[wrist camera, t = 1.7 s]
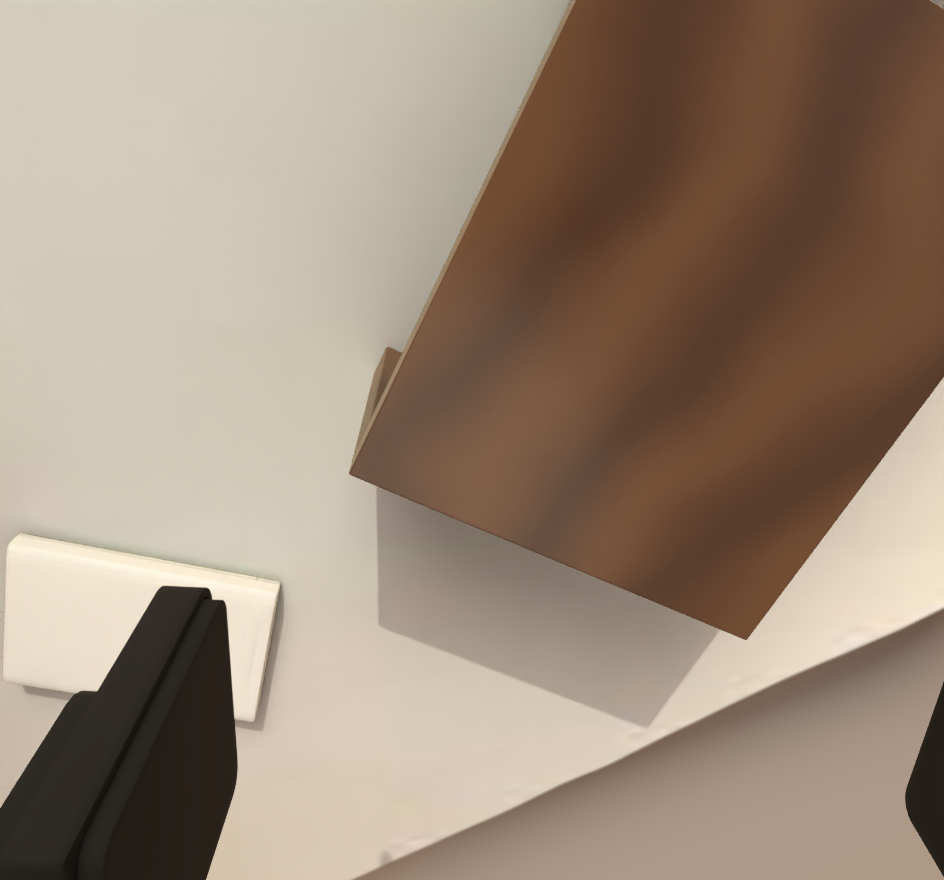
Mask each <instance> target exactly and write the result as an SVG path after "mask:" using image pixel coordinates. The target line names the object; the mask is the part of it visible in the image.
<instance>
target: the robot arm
mask: <svg viewBox="0 0 944 880" xmlns="http://www.w3.org/2000/svg"><path fill="white" fill-rule="evenodd" d="M237 768H238V766H237V748H236V734H235V720H234V705H233V691H232V677H231V663H230V649H229V634H228V620H227V608H226V604H225V601H223V600H212V594H211V592H210V590H209V589H208V588H205V587H183V586H162V587H160V588H159V589H158V591H157V592H156V594H155V595H154V597H153V599H152V600H151V602H150V604H149V605H148V607H147V609H146V610H145V612H144V614H143V615H142V617H141V619H140V621H139V622H138V624H137V626H136V627H135V629H134V631H133V632H132V634H131V636H130V637H129V639H128V641H127V642H126V644H125V646H124V647H123V649H122V651H121V652H120V654H119V656H118V657H117V659H116V661H115V662H114V664H113V666H112V667H111V669H110V671H109V672H108V674H107V676H106V677H105V679H104V681H103V683H102V684H101V686H100V688H99V689H98V691H80V692H78V693H76V694H74V695H73V697H72V698H71V699H70V700H69V702H68V703H67V704H66V705H65V707H64V709H63V710H62V712H61V713H60V715H59V717H58V718H57V720H56V721H55V723H54V724H53V726H52V728H51V729H50V731H49V732H48V734H47V735H46V737H45V739H44V740H43V742H42V743H41V745H40V747H39V748H38V750H37V751H36V753H35V754H34V756H33V758H32V759H31V761H30V762H29V764H28V765H27V767H26V769H25V770H24V772H23V773H22V775H21V777H20V778H19V780H18V781H17V783H16V784H15V786H14V788H13V789H12V791H11V792H10V794H9V795H8V797H7V799H6V800H5V802H4V803H3V805H2V807H1V808H0V880H206V878H207V875H208V872H209V868H210V865H211V862H212V859H213V856H214V853H215V850H216V847H217V844H218V841H219V838H220V834H221V831H222V828H223V825H224V822H225V819H226V816H227V813H228V810H229V807H230V804H231V800H232V797H233V794H234V790H235V785H236V779H237ZM905 802H906V809H907V812H908V816H909V818H910V820H911V822H912V824H913V825H914V827H915V829H916V831H917V832H918V834H919V836H920V837H921V839H922V841H923V842H924V844H925V846H926V847H927V849H928V851H929V853H930V854H931V856H932V858H933V859H934V861H935V863H936V864H937V866H938V868H939V869H940V871H941V873H942V875H943V876H944V683H943V686H942V689H941V691H940V694H939V697H938V700H937V703H936V706H935V708H934V711H933V714H932V717H931V720H930V723H929V726H928V728H927V731H926V734H925V737H924V740H923V743H922V746H921V748H920V751H919V754H918V757H917V760H916V763H915V766H914V768H913V771H912V774H911V777H910V780H909V783H908V786H907V789H906V795H905Z"/></svg>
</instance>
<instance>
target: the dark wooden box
mask: <svg viewBox="0 0 944 880" xmlns="http://www.w3.org/2000/svg"><path fill="white" fill-rule="evenodd" d="M943 377H944V9H942V8H940V7H939V6H937V5H936V4H934V3H933V2H931V1H929V0H571V1H570V3H569V5H568V7H567V9H566V11H565V13H564V15H563V17H562V20H561V22H560V24H559V26H558V28H557V30H556V32H555V34H554V36H553V38H552V41H551V43H550V45H549V47H548V49H547V51H546V53H545V55H544V57H543V59H542V61H541V64H540V66H539V68H538V70H537V72H536V74H535V76H534V78H533V80H532V82H531V85H530V87H529V89H528V91H527V93H526V95H525V97H524V99H523V101H522V103H521V105H520V108H519V110H518V112H517V114H516V116H515V118H514V120H513V122H512V124H511V126H510V129H509V131H508V133H507V135H506V137H505V139H504V141H503V143H502V145H501V147H500V149H499V152H498V154H497V156H496V158H495V160H494V162H493V164H492V166H491V168H490V170H489V173H488V175H487V177H486V179H485V181H484V183H483V185H482V187H481V189H480V191H479V193H478V196H477V198H476V200H475V202H474V204H473V206H472V208H471V210H470V212H469V214H468V217H467V219H466V221H465V223H464V225H463V227H462V229H461V231H460V233H459V235H458V237H457V240H456V242H455V244H454V246H453V248H452V250H451V252H450V254H449V256H448V258H447V261H446V263H445V265H444V267H443V269H442V271H441V273H440V275H439V277H438V279H437V281H436V284H435V286H434V288H433V290H432V292H431V294H430V296H429V298H428V300H427V302H426V305H425V307H424V309H423V311H422V313H421V315H420V317H419V319H418V321H417V323H416V325H415V328H414V330H413V332H412V334H411V336H410V338H409V340H408V342H407V344H406V346H405V349H404V351H403V353H401V352H398V351H396V350H394V349H392V348H390V347H387V348H386V350H385V352H384V354H383V356H382V358H381V360H380V363H379V365H378V367H377V369H376V371H375V373H374V377H373V381H372V385H371V389H370V393H369V397H368V401H367V405H366V409H365V413H364V417H363V421H362V425H361V429H360V433H359V436H358V440H357V444H356V448H355V452H354V456H353V460H352V463H351V467H350V471H349V474H350V475H352V476H354V477H357V478H359V479H362V480H364V481H366V482H369V483H371V484H374V485H376V486H378V487H381V488H383V489H385V490H388V491H390V492H393V493H395V494H397V495H400V496H402V497H405V498H407V499H409V500H412V501H414V502H417V503H419V504H421V505H424V506H426V507H429V508H431V509H433V510H436V511H438V512H441V513H443V514H445V515H448V516H450V517H453V518H455V519H457V520H460V521H462V522H465V523H467V524H469V525H472V526H474V527H476V528H479V529H481V530H484V531H486V532H488V533H491V534H493V535H496V536H498V537H500V538H503V539H505V540H508V541H510V542H512V543H515V544H517V545H520V546H522V547H524V548H527V549H529V550H532V551H534V552H536V553H539V554H541V555H544V556H546V557H548V558H551V559H553V560H556V561H558V562H560V563H563V564H565V565H567V566H570V567H572V568H575V569H577V570H579V571H582V572H584V573H587V574H589V575H591V576H594V577H596V578H599V579H601V580H603V581H606V582H608V583H611V584H613V585H615V586H618V587H620V588H623V589H625V590H627V591H630V592H632V593H635V594H637V595H639V596H642V597H644V598H647V599H649V600H651V601H654V602H656V603H658V604H661V605H663V606H666V607H668V608H670V609H673V610H675V611H678V612H680V613H682V614H685V615H687V616H690V617H692V618H694V619H697V620H699V621H702V622H704V623H706V624H709V625H711V626H714V627H716V628H718V629H721V630H723V631H726V632H728V633H730V634H733V635H735V636H738V637H740V638H742V639H745V640H747V639H748V637H749V636H750V635H751V633H752V632H753V631H754V629H755V628H756V627H757V625H758V624H759V623H760V621H761V620H762V619H763V617H764V616H765V615H766V613H767V612H768V611H769V609H770V608H771V607H772V605H773V604H774V603H775V601H776V600H777V599H778V597H779V596H780V595H781V593H782V592H783V591H784V589H785V588H786V587H787V585H788V584H789V583H790V581H791V580H792V579H793V577H794V576H795V575H796V573H797V572H798V571H799V569H800V568H801V567H802V565H803V564H804V563H805V561H806V560H807V559H808V557H809V556H810V555H811V553H812V552H813V551H814V549H815V548H816V547H817V545H818V544H819V543H820V541H821V540H822V539H823V537H824V536H825V535H826V533H827V532H828V531H829V529H830V528H831V527H832V525H833V524H834V523H835V521H836V520H837V519H838V517H839V516H840V515H841V513H842V512H843V511H844V509H845V508H846V507H847V505H848V504H849V503H850V501H851V500H852V499H853V497H854V496H855V495H856V493H857V492H858V491H859V489H860V488H861V487H862V485H863V484H864V483H865V481H866V480H867V479H868V477H869V476H870V475H871V473H872V472H873V471H874V469H875V468H876V466H877V465H878V464H879V462H880V461H881V460H882V458H883V457H884V456H885V454H886V453H887V452H888V450H889V449H890V448H891V446H892V445H893V444H894V442H895V441H896V440H897V438H898V437H899V436H900V434H901V433H902V432H903V430H904V429H905V428H906V426H907V425H908V424H909V422H910V421H911V420H912V418H913V417H914V416H915V414H916V413H917V412H918V410H919V409H920V408H921V406H922V405H923V404H924V402H925V401H926V400H927V398H928V397H929V396H930V394H931V393H932V392H933V390H934V389H935V388H936V386H937V385H938V384H939V382H940V381H941V380H942V378H943Z"/></svg>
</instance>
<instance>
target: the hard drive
mask: <svg viewBox="0 0 944 880" xmlns="http://www.w3.org/2000/svg"><path fill="white" fill-rule="evenodd" d="M162 586H183V587H205V588H208V589H209V590H210V592H211V594H212V600H223V601H225V604H226V608H227V620H228V634H229V649H230V663H231V677H232V691H233V705H234V719H235V720H242V721H247V722H255V718H256V714H257V711H258V707H259V702H260V697H261V692H262V686H263V681H264V676H265V670H266V664H267V659H268V653H269V648H270V642H271V637H272V631H273V625H274V620H275V614H276V609H277V603H278V598H279V592H280V586H281V582H280V581H275V580H269V579H264V578H258V577H255V576H249V575H244V574H239V573H234V572H228V571H223V570H218V569H212V568H207V567H202V566H196V565H191V564H185V563H180V562H174V561H169V560H164V559H158V558H153V557H148V556H142V555H136V554H131V553H126V552H120V551H115V550H109V549H104V548H98V547H93V546H88V545H82V544H77V543H71V542H66V541H61V540H56V539H51V538H46V537H40V536H35V535H29V534H24V533H20V534H19V535H17V536H16V537H15V538H14V539H13V540H12V541H11V542H10V543H9V545H8V549H7V555H6V584H5V617H4V618H5V620H4V626H5V627H4V648H3V652H4V655H3V681H4V682H7V683H13V684H19V685H25V686H31V687H38V688H44V689H50V690H57V691H63V692H69V693H75V694H76V693H78V692H80V691H98V689H99V688H100V686H101V684H102V683H103V681H104V679H105V677H106V676H107V674H108V672H109V671H110V669H111V667H112V666H113V664H114V662H115V661H116V659H117V657H118V656H119V654H120V652H121V651H122V649H123V647H124V646H125V644H126V642H127V641H128V639H129V637H130V636H131V634H132V632H133V631H134V629H135V627H136V626H137V624H138V622H139V621H140V619H141V617H142V615H143V614H144V612H145V610H146V609H147V607H148V605H149V604H150V602H151V600H152V599H153V597H154V595H155V594H156V592H157V591H158V589H159V588H160V587H162Z"/></svg>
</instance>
